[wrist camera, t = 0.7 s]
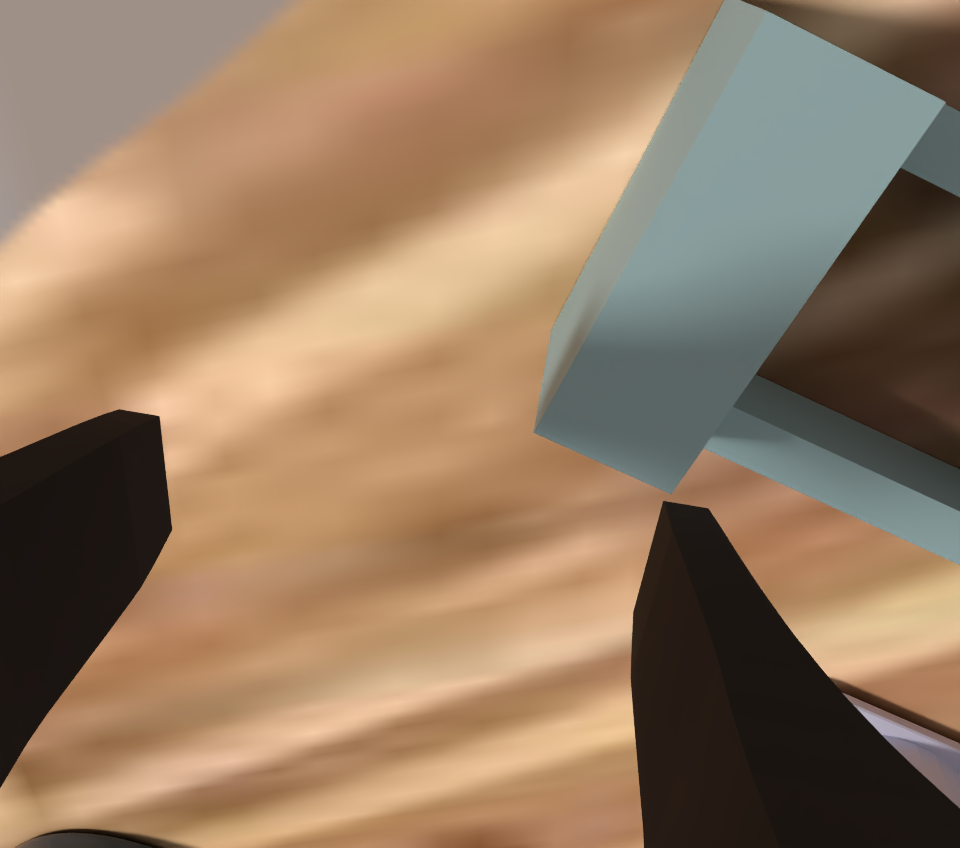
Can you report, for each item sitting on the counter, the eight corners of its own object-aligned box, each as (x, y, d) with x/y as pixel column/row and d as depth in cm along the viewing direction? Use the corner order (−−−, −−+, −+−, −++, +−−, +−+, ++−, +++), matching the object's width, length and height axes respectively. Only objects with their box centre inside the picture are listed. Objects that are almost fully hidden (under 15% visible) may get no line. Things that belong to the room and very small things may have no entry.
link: (1285, 279, 17) (1507, 387, 13) (1012, 542, 21) (1112, 691, 17) (727, -5, 16) (767, 10, 12) (550, 330, 20) (533, 432, 16)
